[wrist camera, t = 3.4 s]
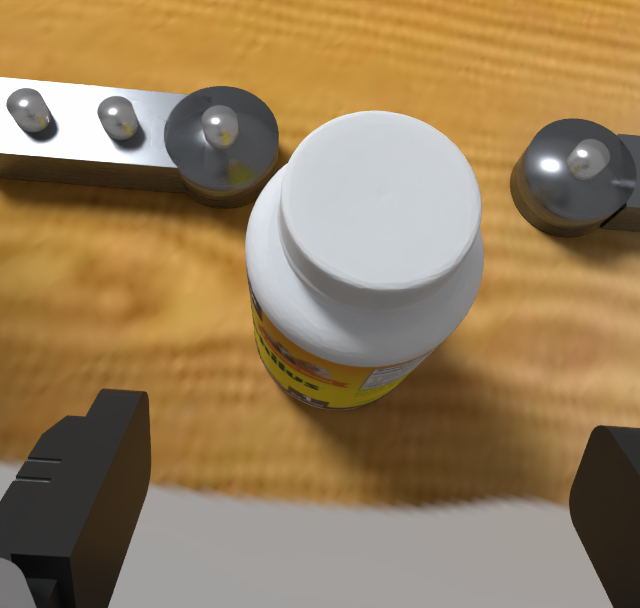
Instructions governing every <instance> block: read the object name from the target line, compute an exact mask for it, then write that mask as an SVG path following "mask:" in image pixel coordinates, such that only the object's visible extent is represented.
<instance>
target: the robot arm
mask: <svg viewBox="0 0 640 608" xmlns="http://www.w3.org/2000/svg"><path fill="white" fill-rule="evenodd" d="M150 472H151V442H150V419H149V399H148V395H147V392H144V391H130V390H116V389H102V390H101V391H100V392H99V393H98V395H97V397H96V399H95V401H94V402H93V404H92V406H91V408H90V410H89V411H88V413H87V415H86V417H82V416H66V417H64V418H63V419H62V420H60V421H59V422H58V423H56V424H55V425H54V426H52V427H51V428H50V429H48V430H47V431H46V432H45V433H43V434H42V436H41V437H40V439H39V440H38V442H37V444H36V445H35V447H34V448H33V450H32V451H31V453H30V455H29V456H28V461H27V462H26V461H25V463H24V464H23V466H22V467H21V469H20V471H19V472H18V474H17V475H16V480H15V481H13V482H12V483H11V485H10V486H9V488H8V490H7V491H6V493H5V494H4V496H3V498H2V499H1V501H0V608H108V605H109V602H110V600H111V597H112V594H113V591H114V588H115V585H116V582H117V579H118V576H119V573H120V570H121V567H122V565H123V561H124V559H125V556H126V553H127V550H128V547H129V544H130V541H131V538H132V535H133V532H134V530H135V527H136V524H137V521H138V518H139V515H140V512H141V509H142V506H143V503H144V500H145V497H146V494H147V490H148V486H149V480H150ZM569 507H570V515H571V519H572V522H573V525H574V527H575V529H576V531H577V533H578V536H579V537H580V540H581V542H582V544H583V546H584V548H585V550H586V552H587V554H588V556H589V558H590V560H591V562H592V564H593V566H594V569H595V570H596V573H597V575H598V577H599V579H600V581H601V583H602V585H603V587H604V589H605V591H606V593H607V595H608V597H609V599H610V601H611V603H612V605H613V608H640V428H630V427H616V426H602V425H600V426H597V427H595V428H594V430H593V431H592V433H591V435H590V437H589V440H588V443H587V446H586V449H585V451H584V454H583V457H582V460H581V462H580V465H579V468H578V471H577V474H576V476H575V479H574V482H573V485H572V488H571V491H570V498H569Z"/></svg>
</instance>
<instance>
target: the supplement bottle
mask: <svg viewBox="0 0 640 608" xmlns="http://www.w3.org/2000/svg"><path fill="white" fill-rule="evenodd" d="M481 213H482V203H481V194H480V189H479V186H478V182H477V179H476V176H475V174H474V172H473V170H472V168H471V166H470V164H469V163H468V161H467V159H466V158H465V157H464V155H463V154H462V152H461V151H460V150H459V149H458V147H457V146H456V145H455V144H454V143H453V142H452V141H451V140H450V139H449V138H447V137H446V136H445V135H444V134H442V133H441V132H440V131H438V130H437V129H435V128H433V127H432V126H430V125H428V124H426V123H424V122H423V121H420V120H418V119H415V118H412V117H409V116H406V115H403V114H398V113H392V112H386V111H363V112H356V113H352V114H347V115H343V116H341V117H338V118H335V119H333V120H331V121H329V122H327V123H325V124H324V125H322V126H320V127H319V128H317V129H316V130H314V131H313V132H312V133H311V134H309V135H308V136H307V137H306V138H305V139H304V140H303V141H302V142H301V143H300V145H299V146H298V147H297V149H296V150H295V152H294V153H293V154H292V156H291V158H290V160H289V162H288V163H287V164H286V165H285V166H283V167H282V168H281V169H280V170H279V171H278V172H277V173H276V174H275V175H274V176H273V177H272V179H271V180H270V181H269V182H268V183H267V185H266V186H265V188H264V189H263V191H262V192H261V194H260V195H259V197H258V199H257V201H256V203H255V205H254V207H253V210H252V212H251V215H250V218H249V222H248V227H247V233H246V244H245V251H246V268H247V277H248V284H249V291H250V299H251V309H252V316H253V324H254V334H255V340H256V344H257V348H258V352H259V355H260V358H261V360H262V362H263V364H264V366H265V368H266V370H267V371H268V373H269V374H270V376H271V377H272V378H273V379H274V381H275V382H276V383H277V384H278V385H279V386H280V387H281V388H282V389H283V390H284V391H286V392H287V393H288V394H290V395H291V396H293V397H294V398H296V399H298V400H300V401H302V402H304V403H306V404H309V405H311V406H314V407H317V408H322V409H328V410H348V409H354V408H358V407H362V406H365V405H368V404H370V403H373V402H375V401H377V400H378V399H380V398H382V397H384V396H385V395H387V394H388V393H389V392H390V391H392V390H393V389H394V388H395V387H396V386H397V385H398V384H399V383H400V382H401V381H402V380H403V379H404V378H405V377H406V376H408V375H409V374H410V373H411V372H412V371H413V370H414V369H415V368H416V367H417V366H418V365H419V364H420V363H421V362H422V361H423V360H424V359H426V358H427V357H428V356H429V355H430V354H431V353H432V352H433V351H434V350H435V349H436V348H437V347H438V346H439V345H440V344H441V343H442V342H444V341H445V340H446V339H447V338H448V337H449V336H450V335H451V334H452V333H453V332H454V330H455V329H456V328H457V327H458V325H459V324H460V323H461V322H462V320H463V319H464V318H465V316H466V315H467V313H468V311H469V310H470V308H471V306H472V304H473V302H474V300H475V298H476V295H477V293H478V290H479V287H480V283H481V279H482V273H483V265H484V248H483V240H482V234H481V230H480V222H481Z"/></svg>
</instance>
